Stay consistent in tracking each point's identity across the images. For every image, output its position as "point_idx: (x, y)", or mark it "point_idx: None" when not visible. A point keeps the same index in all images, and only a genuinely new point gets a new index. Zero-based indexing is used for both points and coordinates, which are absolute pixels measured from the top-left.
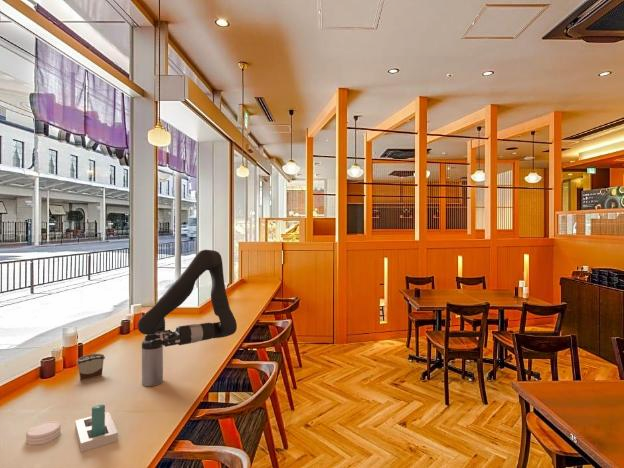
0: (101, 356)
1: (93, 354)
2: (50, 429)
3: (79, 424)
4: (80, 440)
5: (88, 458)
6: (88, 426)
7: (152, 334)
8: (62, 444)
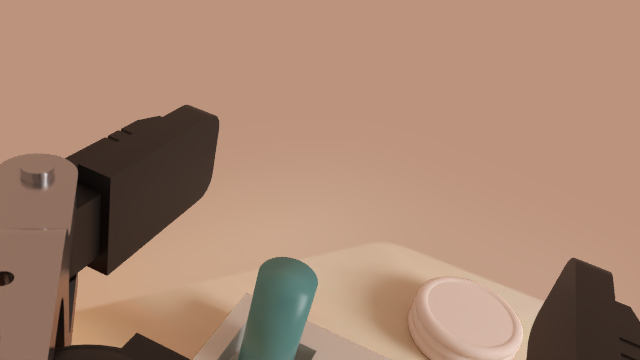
0: None
1: None
2: (442, 314)
3: None
4: None
5: (179, 305)
6: None
7: (597, 350)
8: (352, 329)
